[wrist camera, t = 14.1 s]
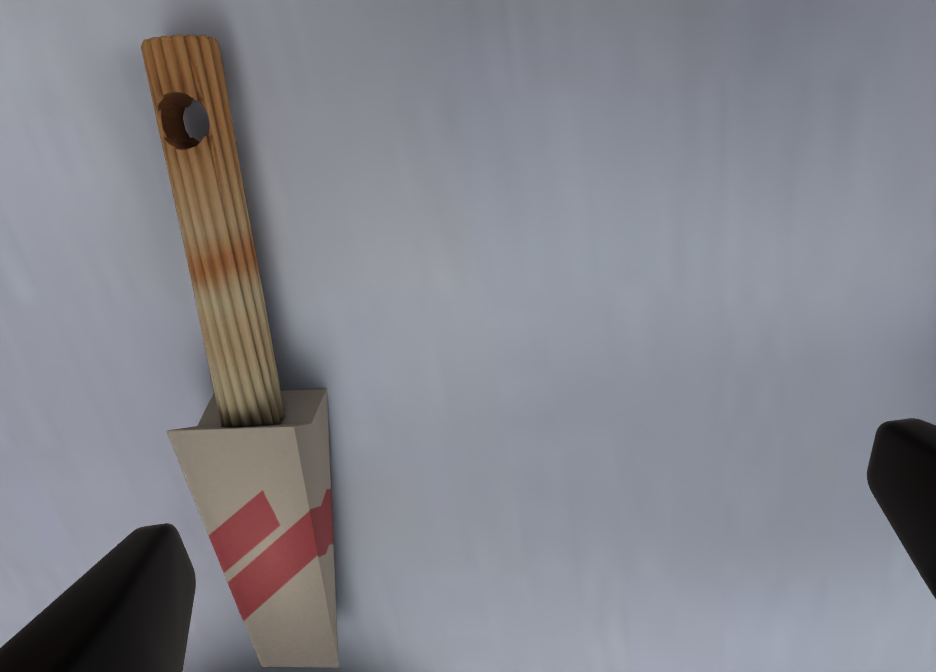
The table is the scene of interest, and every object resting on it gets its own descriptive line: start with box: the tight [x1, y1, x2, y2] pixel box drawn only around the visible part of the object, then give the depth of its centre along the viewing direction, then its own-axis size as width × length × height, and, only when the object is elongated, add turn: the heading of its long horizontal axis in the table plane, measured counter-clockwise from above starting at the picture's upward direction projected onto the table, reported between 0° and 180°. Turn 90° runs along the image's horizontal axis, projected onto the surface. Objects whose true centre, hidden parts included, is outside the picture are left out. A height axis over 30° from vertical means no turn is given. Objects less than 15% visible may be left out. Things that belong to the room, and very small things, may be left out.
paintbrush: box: [141, 35, 339, 668], centre depth 20 cm, size 4×3×20 cm
